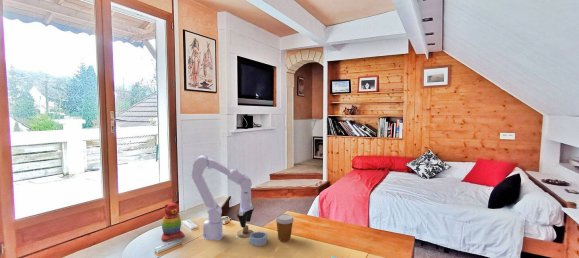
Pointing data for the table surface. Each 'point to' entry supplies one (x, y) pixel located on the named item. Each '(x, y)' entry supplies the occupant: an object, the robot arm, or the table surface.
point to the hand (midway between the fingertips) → (245, 224)
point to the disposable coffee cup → (284, 227)
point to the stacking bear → (171, 223)
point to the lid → (244, 232)
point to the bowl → (258, 238)
